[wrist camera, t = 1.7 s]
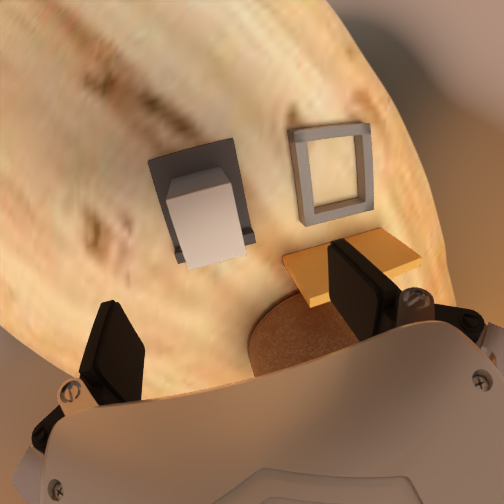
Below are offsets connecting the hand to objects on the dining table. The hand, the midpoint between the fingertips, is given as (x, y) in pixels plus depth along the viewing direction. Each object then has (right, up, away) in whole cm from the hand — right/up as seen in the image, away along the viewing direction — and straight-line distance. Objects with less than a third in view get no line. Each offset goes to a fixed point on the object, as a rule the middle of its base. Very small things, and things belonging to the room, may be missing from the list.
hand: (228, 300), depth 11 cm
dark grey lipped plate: (-3, +6, +11) cm, 13 cm away
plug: (-3, +6, +11) cm, 13 cm away
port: (+9, +8, +13) cm, 18 cm away
